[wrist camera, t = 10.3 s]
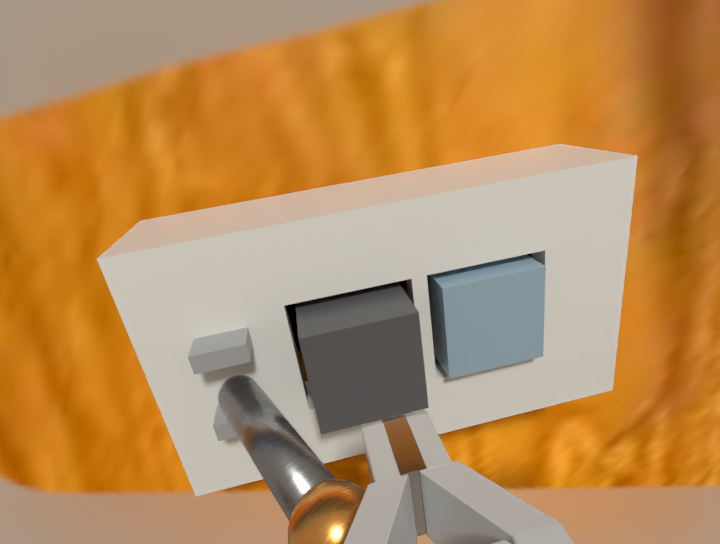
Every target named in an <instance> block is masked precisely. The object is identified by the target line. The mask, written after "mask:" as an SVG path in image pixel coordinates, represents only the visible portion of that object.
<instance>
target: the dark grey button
mask: <svg viewBox="0 0 720 544" xmlns="http://www.w3.org/2000/svg"><path fill="white" fill-rule="evenodd" d="M295 308H296V319H297V329H298V339H299V344H300V348H301V352H302V356H303V361H304V365H305V369H306V373H307V377H308V382H309V386H310V390H311V394H312V399H313V403H314V407H315V411H316V415H317V420H318V424H319V428H320V432H321V434H325V433H329V432H333V431H337V430H341V429H345V428H349V427H353V426H357V425H361V424H365V423H370V422H374V421H378V420H382V419H386V418H390V417H394V416H398V415H402V414H406V413H410V412H414V411H418V410H422V409H426V408H429V406H428V396H427V386H426V377H425V367H424V358H423V348H422V339H421V329H420V319H419V312H418V310H417V309H416V307H415V306H414V304H413V303H412V302H411V300H410V299H409V297H408V296H407V294H406V293H405V291H404V290H403V288H402V287H401V285H400V284H399V282H394V283H389V284H384V285H379V286H375V287H370V288H365V289H361V290H356V291H351V292H346V293H342V294H337V295H332V296H328V297H323V298H318V299H313V300H309V301H304V302H299V303H295Z"/></svg>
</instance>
